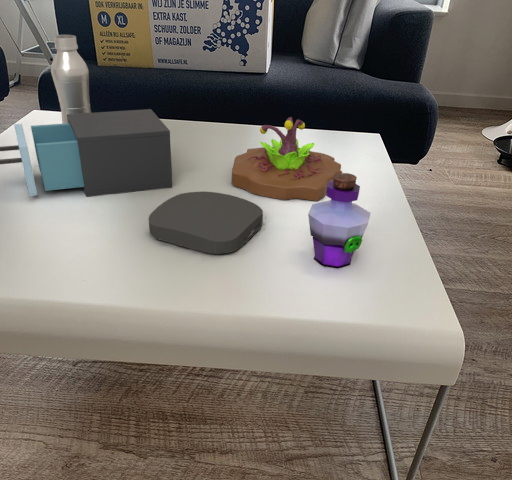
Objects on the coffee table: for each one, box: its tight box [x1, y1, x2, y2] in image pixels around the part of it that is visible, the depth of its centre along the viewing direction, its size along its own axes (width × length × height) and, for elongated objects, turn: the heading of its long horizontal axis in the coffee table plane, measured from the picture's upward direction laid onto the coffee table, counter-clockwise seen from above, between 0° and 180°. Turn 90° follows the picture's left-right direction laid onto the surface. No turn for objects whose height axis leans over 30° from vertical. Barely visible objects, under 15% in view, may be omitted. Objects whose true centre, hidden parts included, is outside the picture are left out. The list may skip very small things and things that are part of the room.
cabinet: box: [67, 108, 174, 197], centre depth 93 cm, size 15×13×10 cm
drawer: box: [0, 123, 84, 197], centre depth 90 cm, size 18×11×8 cm, turn 112°
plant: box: [231, 116, 343, 202], centre depth 96 cm, size 20×20×11 cm
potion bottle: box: [307, 172, 371, 270], centre depth 73 cm, size 9×9×12 cm
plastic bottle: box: [50, 34, 92, 124], centre depth 99 cm, size 6×7×20 cm
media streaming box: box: [148, 191, 264, 255], centre depth 82 cm, size 15×15×3 cm
